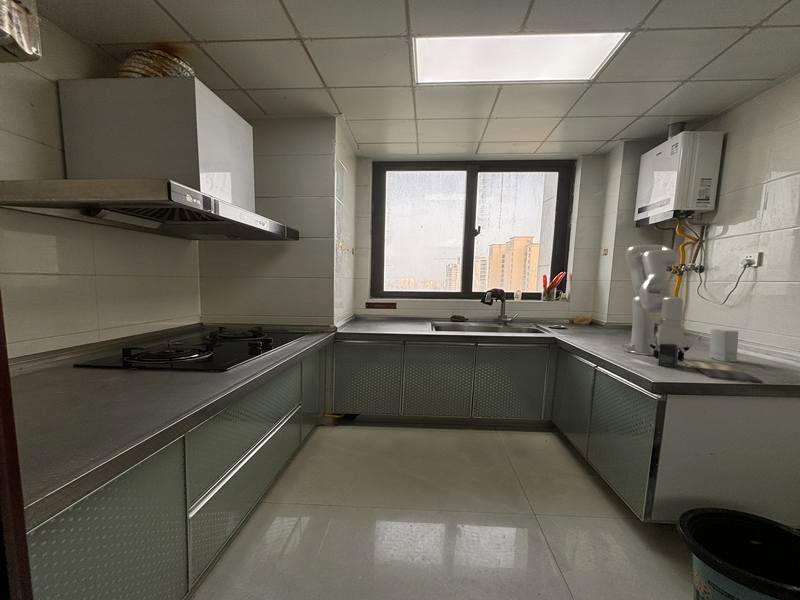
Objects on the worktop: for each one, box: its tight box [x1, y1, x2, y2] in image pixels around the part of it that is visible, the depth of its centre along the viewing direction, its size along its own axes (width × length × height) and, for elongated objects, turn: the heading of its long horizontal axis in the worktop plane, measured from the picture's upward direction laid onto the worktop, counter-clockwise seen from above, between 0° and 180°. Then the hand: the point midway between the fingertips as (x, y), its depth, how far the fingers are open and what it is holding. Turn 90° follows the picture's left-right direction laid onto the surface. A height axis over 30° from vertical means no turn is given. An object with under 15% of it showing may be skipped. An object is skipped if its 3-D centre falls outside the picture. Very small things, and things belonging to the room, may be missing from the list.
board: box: [682, 359, 763, 383], centre depth 141 cm, size 16×26×1 cm, turn 157°
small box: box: [657, 344, 679, 369], centre depth 151 cm, size 11×6×10 cm, turn 135°
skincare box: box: [709, 328, 739, 363], centre depth 161 cm, size 8×7×16 cm
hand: (667, 359), depth 151 cm, fingers open, 8 cm apart
